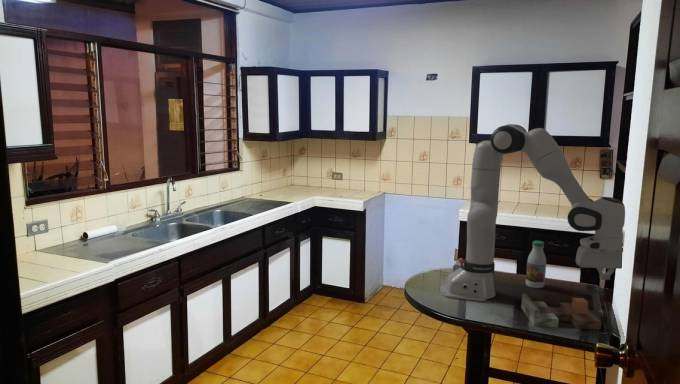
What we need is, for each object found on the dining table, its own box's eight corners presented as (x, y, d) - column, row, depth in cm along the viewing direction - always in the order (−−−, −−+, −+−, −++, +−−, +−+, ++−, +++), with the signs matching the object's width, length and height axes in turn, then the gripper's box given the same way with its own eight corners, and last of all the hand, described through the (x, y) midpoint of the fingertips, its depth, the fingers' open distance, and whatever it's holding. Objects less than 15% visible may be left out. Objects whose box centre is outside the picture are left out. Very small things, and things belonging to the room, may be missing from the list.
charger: (477, 267, 237) (472, 277, 223) (458, 265, 241) (452, 274, 227) (478, 258, 236) (473, 267, 223) (459, 256, 240) (453, 264, 226)
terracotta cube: (575, 313, 177) (576, 301, 176) (571, 309, 181) (572, 297, 180) (586, 314, 177) (588, 302, 176) (582, 309, 181) (583, 298, 180)
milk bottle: (528, 281, 218) (531, 238, 215) (546, 285, 214) (550, 241, 211) (523, 286, 212) (526, 242, 209) (541, 290, 208) (545, 245, 204)
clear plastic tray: (533, 326, 173) (534, 310, 172) (521, 308, 189) (522, 293, 188) (600, 329, 171) (602, 313, 170) (582, 310, 187) (583, 296, 186)
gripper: (633, 240, 176) (630, 277, 178) (575, 239, 178) (572, 275, 180) (643, 245, 170) (638, 283, 172) (582, 244, 171) (579, 281, 174)
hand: (604, 279), depth 176 cm, fingers closed
